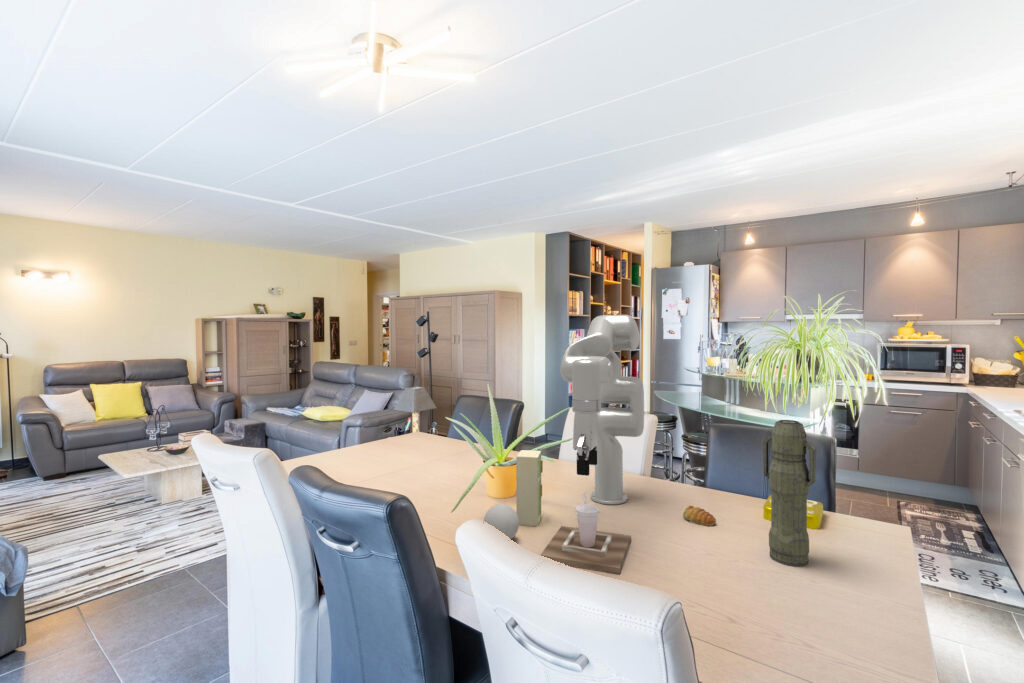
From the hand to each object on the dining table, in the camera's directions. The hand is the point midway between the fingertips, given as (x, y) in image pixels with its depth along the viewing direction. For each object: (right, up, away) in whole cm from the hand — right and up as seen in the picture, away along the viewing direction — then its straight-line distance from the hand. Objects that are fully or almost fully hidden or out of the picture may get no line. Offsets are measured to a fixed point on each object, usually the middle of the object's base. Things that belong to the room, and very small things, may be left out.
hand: (587, 469), depth 131 cm
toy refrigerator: (-14, -22, +21) cm, 33 cm away
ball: (-23, -22, +7) cm, 33 cm away
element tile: (+67, -21, +22) cm, 74 cm away
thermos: (+50, -21, -6) cm, 55 cm away
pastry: (+37, -21, +20) cm, 47 cm away
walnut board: (0, -22, 0) cm, 22 cm away
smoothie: (0, -20, +1) cm, 20 cm away
